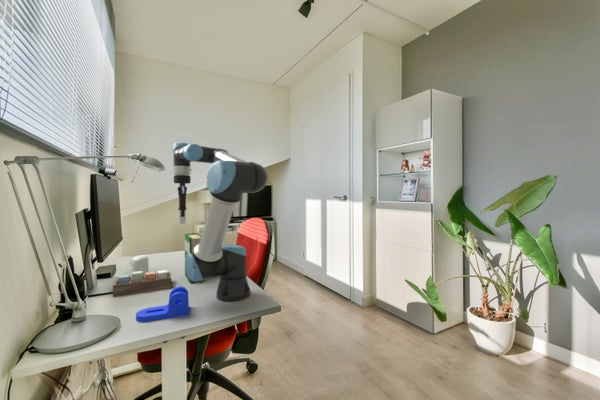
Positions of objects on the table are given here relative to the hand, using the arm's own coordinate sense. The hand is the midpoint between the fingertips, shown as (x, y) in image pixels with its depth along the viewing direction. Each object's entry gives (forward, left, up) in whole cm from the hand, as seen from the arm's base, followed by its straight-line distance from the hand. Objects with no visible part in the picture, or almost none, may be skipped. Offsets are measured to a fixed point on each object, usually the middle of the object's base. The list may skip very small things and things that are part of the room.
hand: (182, 223), depth 131 cm
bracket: (-27, +9, -33) cm, 44 cm away
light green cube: (+10, +20, -28) cm, 36 cm away
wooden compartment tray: (+10, +17, -32) cm, 38 cm away
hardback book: (+16, -7, -33) cm, 37 cm away
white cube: (+10, +9, -29) cm, 32 cm away
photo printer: (+31, +20, -33) cm, 49 cm away
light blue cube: (+10, +25, -29) cm, 40 cm away
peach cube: (+10, +14, -29) cm, 34 cm away
